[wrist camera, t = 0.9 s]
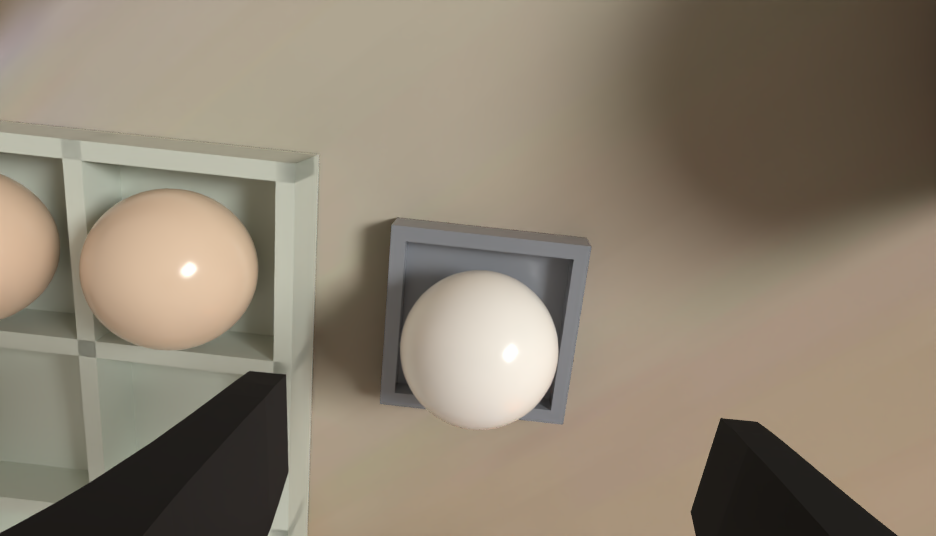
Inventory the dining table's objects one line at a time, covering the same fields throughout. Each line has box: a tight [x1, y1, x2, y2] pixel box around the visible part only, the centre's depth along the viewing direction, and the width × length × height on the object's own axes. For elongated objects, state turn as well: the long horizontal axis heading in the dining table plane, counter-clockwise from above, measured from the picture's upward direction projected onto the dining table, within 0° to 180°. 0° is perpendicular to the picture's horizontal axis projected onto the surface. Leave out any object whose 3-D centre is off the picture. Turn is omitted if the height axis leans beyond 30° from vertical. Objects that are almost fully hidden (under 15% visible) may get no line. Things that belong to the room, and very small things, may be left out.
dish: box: [380, 218, 591, 424], centre depth 22 cm, size 7×7×1 cm
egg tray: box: [0, 120, 319, 536], centre depth 23 cm, size 20×14×3 cm
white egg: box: [400, 270, 559, 430], centre depth 20 cm, size 5×5×5 cm
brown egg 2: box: [79, 188, 258, 351], centre depth 20 cm, size 5×5×5 cm
